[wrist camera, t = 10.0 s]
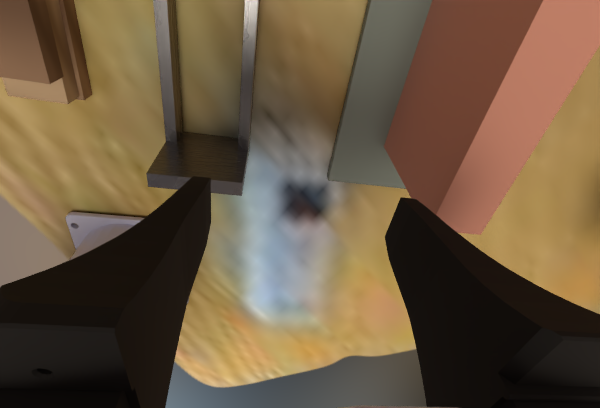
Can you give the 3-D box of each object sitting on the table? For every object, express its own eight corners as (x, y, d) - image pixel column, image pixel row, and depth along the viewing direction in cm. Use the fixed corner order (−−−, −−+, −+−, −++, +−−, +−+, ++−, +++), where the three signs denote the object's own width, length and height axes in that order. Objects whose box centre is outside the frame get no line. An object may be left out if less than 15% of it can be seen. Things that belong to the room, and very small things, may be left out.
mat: (442, 188, 24) (446, 193, 24) (327, 175, 23) (328, 180, 22) (588, -113, 15) (599, -115, 14) (405, -158, 14) (410, -162, 13)
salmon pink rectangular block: (421, 151, 21) (480, 234, 15) (383, 146, 21) (428, 229, 15) (498, -40, 16) (650, -37, 9) (448, -50, 15) (569, -54, 9)
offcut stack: (94, 93, 19) (60, 117, 16) (37, 84, 19) (-7, 108, 16) (59, -89, 15) (4, -99, 12) (-18, -105, 14) (-94, -120, 11)
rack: (249, 151, 22) (241, 195, 18) (173, 142, 21) (148, 186, 17) (270, -147, 14) (265, -189, 10) (149, -174, 13) (90, -232, 9)
